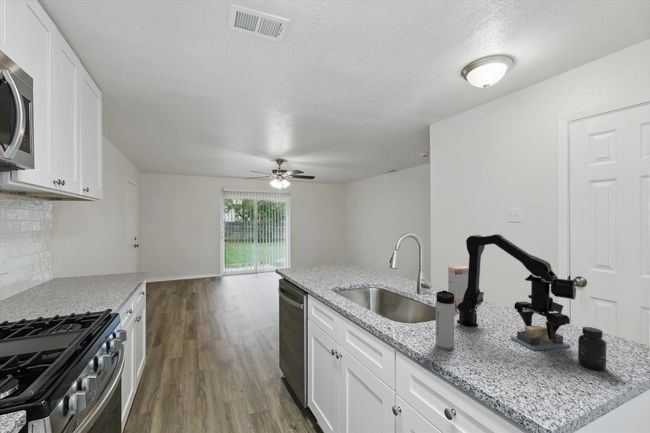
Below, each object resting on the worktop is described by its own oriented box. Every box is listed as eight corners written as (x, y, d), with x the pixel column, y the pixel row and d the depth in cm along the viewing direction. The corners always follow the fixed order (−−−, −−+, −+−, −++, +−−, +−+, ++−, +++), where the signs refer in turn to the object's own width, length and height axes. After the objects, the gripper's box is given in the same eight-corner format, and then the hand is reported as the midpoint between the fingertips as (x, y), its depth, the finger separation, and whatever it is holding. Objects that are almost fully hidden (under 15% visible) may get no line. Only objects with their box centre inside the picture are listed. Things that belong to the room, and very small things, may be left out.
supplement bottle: (608, 374, 92) (609, 335, 92) (580, 367, 96) (580, 330, 96) (603, 364, 98) (603, 328, 98) (576, 359, 102) (576, 323, 102)
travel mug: (453, 344, 112) (453, 291, 112) (454, 352, 106) (455, 295, 106) (435, 341, 114) (436, 289, 114) (435, 349, 108) (436, 293, 108)
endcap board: (533, 350, 108) (533, 340, 108) (511, 339, 118) (511, 330, 118) (570, 347, 111) (570, 337, 111) (545, 336, 121) (545, 327, 121)
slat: (532, 343, 112) (532, 329, 112) (524, 339, 115) (524, 326, 115) (555, 341, 114) (555, 328, 114) (546, 337, 117) (547, 325, 117)
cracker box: (468, 303, 167) (469, 265, 167) (477, 306, 161) (477, 267, 161) (447, 304, 163) (447, 266, 163) (455, 308, 157) (455, 268, 157)
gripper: (582, 299, 107) (582, 343, 107) (536, 287, 125) (536, 324, 125) (556, 301, 105) (555, 345, 105) (513, 288, 123) (513, 326, 123)
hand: (539, 334), depth 114 cm, fingers open, 9 cm apart
